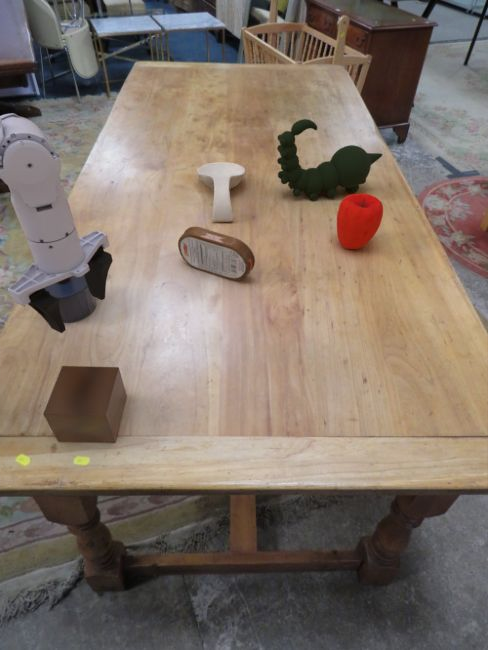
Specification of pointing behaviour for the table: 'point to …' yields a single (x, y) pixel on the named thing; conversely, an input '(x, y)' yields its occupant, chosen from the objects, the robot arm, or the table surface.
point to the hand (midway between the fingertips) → (79, 312)
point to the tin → (216, 253)
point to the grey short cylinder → (77, 306)
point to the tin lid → (67, 287)
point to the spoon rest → (221, 186)
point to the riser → (86, 404)
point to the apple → (358, 220)
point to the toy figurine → (322, 166)
